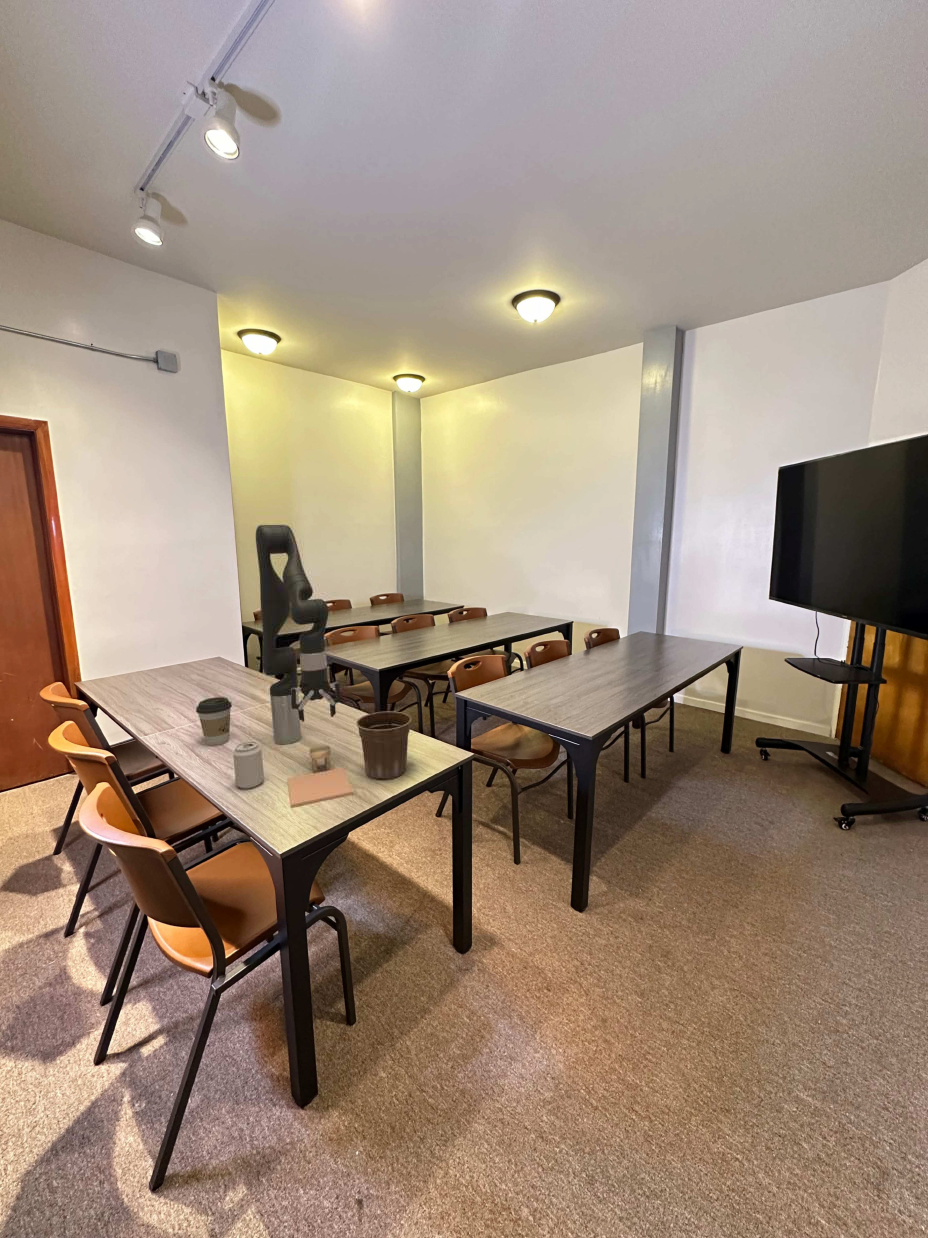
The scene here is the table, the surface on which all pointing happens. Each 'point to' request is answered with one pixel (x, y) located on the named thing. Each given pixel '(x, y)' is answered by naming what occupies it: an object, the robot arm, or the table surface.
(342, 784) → the mat
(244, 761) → the can
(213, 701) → the coffee cup
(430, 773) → the table surface
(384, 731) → the plant pot
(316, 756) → the stool
